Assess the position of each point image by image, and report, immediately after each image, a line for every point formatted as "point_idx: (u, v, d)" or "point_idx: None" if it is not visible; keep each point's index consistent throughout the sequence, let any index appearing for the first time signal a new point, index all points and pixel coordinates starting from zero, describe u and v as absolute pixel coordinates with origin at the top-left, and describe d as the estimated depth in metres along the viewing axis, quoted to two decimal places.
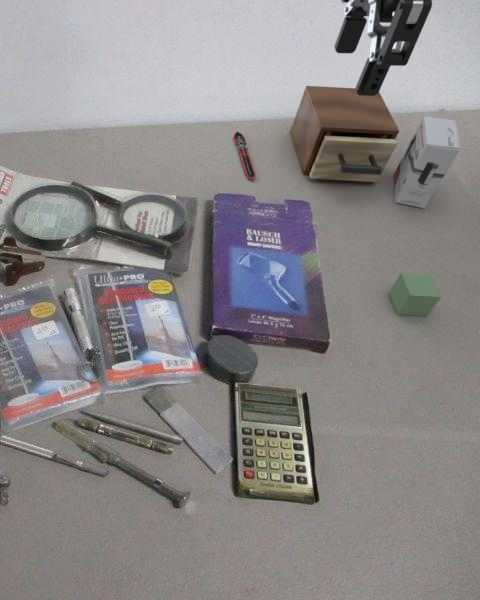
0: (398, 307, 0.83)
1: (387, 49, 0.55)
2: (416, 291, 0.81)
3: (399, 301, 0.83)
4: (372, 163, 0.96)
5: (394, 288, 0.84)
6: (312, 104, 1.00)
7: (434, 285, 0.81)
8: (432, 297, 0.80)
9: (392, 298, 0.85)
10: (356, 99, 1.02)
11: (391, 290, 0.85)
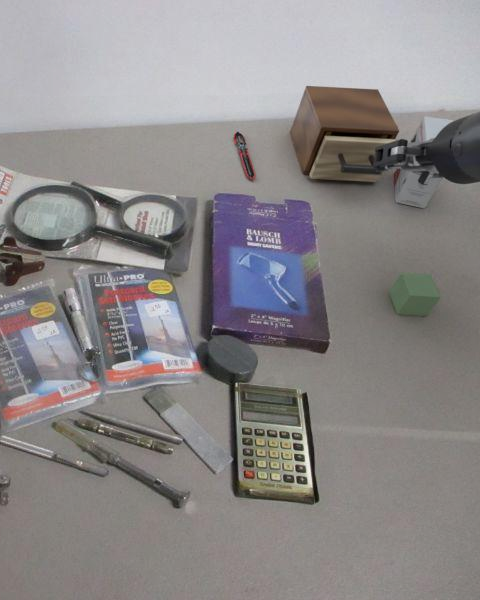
0: (398, 307, 0.83)
1: None
2: (416, 291, 0.81)
3: (399, 301, 0.83)
4: (372, 163, 0.96)
5: (394, 288, 0.84)
6: (312, 104, 1.00)
7: (434, 285, 0.81)
8: (432, 297, 0.80)
9: (392, 298, 0.85)
10: (356, 99, 1.02)
11: (391, 290, 0.85)
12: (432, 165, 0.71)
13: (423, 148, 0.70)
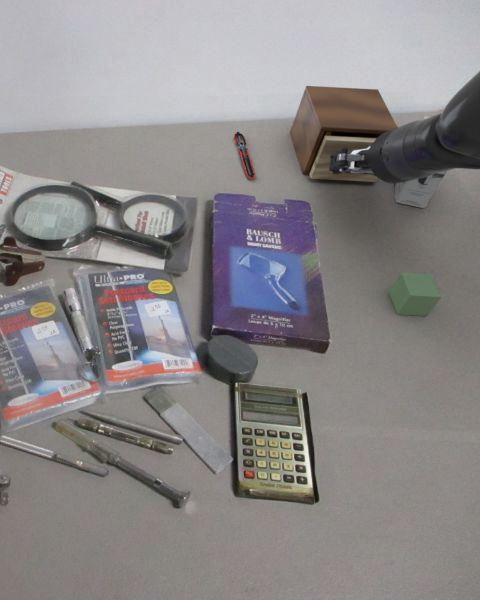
0: (398, 307, 0.83)
1: None
2: (416, 291, 0.81)
3: (399, 301, 0.83)
4: None
5: (394, 288, 0.84)
6: (312, 104, 1.00)
7: (434, 285, 0.81)
8: (432, 297, 0.80)
9: (392, 298, 0.85)
10: (356, 99, 1.02)
11: (391, 290, 0.85)
12: (370, 168, 0.87)
13: (361, 154, 0.86)
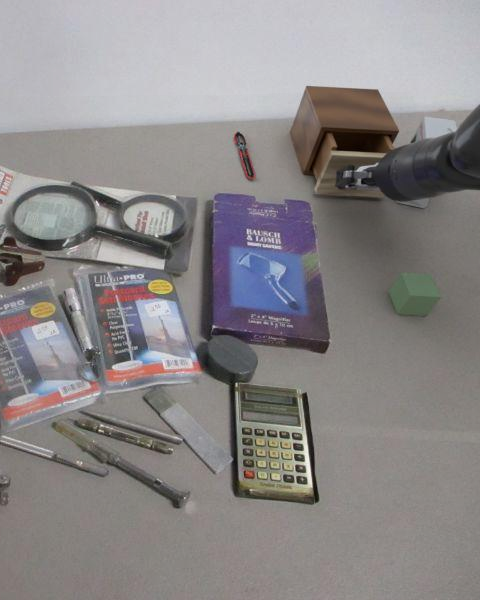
0: (398, 307, 0.83)
1: None
2: (416, 291, 0.81)
3: (399, 301, 0.83)
4: None
5: (394, 288, 0.84)
6: (312, 104, 1.00)
7: (434, 285, 0.81)
8: (432, 297, 0.80)
9: (392, 298, 0.85)
10: (356, 99, 1.02)
11: (391, 290, 0.85)
12: (378, 185, 0.85)
13: (368, 171, 0.84)
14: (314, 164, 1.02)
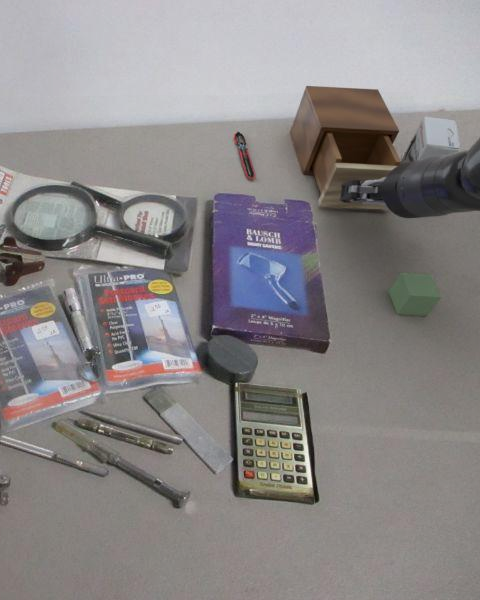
0: (398, 307, 0.83)
1: None
2: (416, 291, 0.81)
3: (399, 301, 0.83)
4: None
5: (394, 288, 0.84)
6: (312, 104, 1.00)
7: (434, 285, 0.81)
8: (432, 297, 0.80)
9: (392, 298, 0.85)
10: (356, 99, 1.02)
11: (391, 290, 0.85)
12: (384, 200, 0.83)
13: (374, 186, 0.82)
14: (317, 175, 1.00)
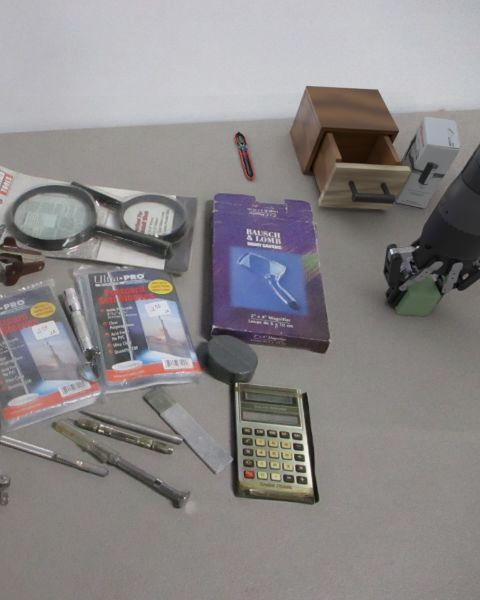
0: (398, 307, 0.83)
1: (384, 266, 0.81)
2: (416, 291, 0.81)
3: None
4: (384, 191, 0.91)
5: None
6: (312, 104, 1.00)
7: (434, 285, 0.81)
8: (432, 297, 0.80)
9: None
10: (356, 99, 1.02)
11: None
12: None
13: None
14: (317, 175, 1.00)
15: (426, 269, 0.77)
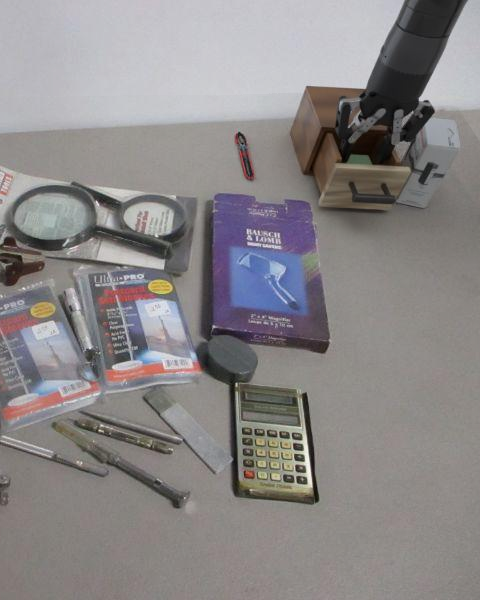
0: None
1: (335, 120, 0.91)
2: None
3: None
4: (385, 192, 0.91)
5: None
6: (312, 104, 1.00)
7: (370, 163, 0.96)
8: None
9: None
10: None
11: None
12: None
13: None
14: (318, 175, 1.00)
15: (371, 117, 0.88)
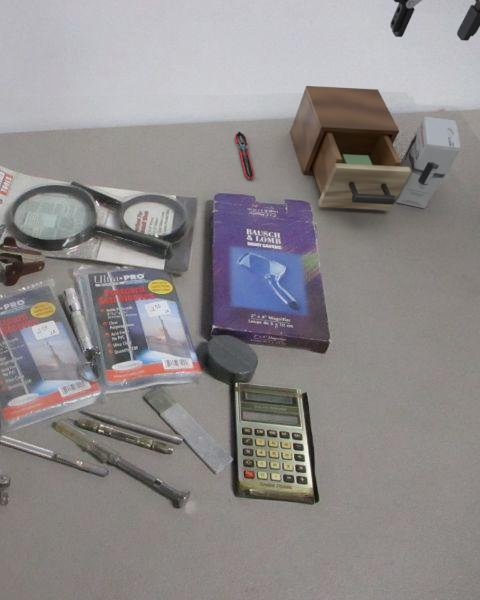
0: None
1: None
2: None
3: None
4: (385, 192, 0.91)
5: None
6: (312, 104, 1.00)
7: (370, 163, 0.96)
8: None
9: None
10: (356, 99, 1.02)
11: None
12: None
13: None
14: (318, 176, 1.00)
15: None
